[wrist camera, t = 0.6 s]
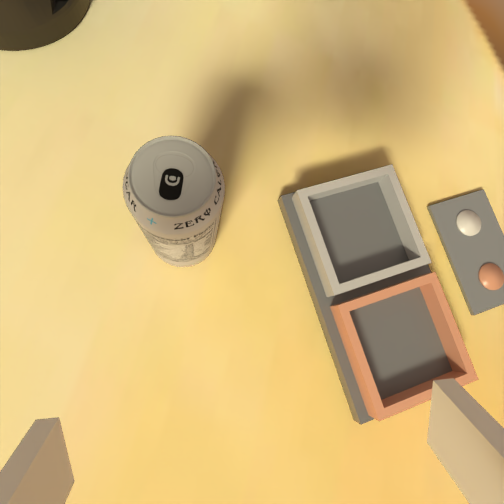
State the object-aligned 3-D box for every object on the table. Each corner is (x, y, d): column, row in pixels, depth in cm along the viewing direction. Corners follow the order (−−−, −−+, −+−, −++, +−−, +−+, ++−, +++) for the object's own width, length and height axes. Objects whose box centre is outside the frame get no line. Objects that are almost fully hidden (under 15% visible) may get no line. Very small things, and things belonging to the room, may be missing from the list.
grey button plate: (427, 206, 39) (430, 205, 39) (480, 190, 41) (485, 188, 40) (471, 315, 38) (475, 315, 37) (525, 294, 39) (531, 293, 38)
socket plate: (277, 200, 37) (285, 188, 34) (381, 172, 39) (398, 157, 36) (353, 420, 34) (371, 430, 31) (461, 375, 36) (489, 380, 33)
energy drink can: (219, 212, 36) (233, 136, 21) (210, 273, 35) (218, 235, 20) (157, 202, 35) (128, 116, 21) (145, 263, 34) (106, 218, 19)
